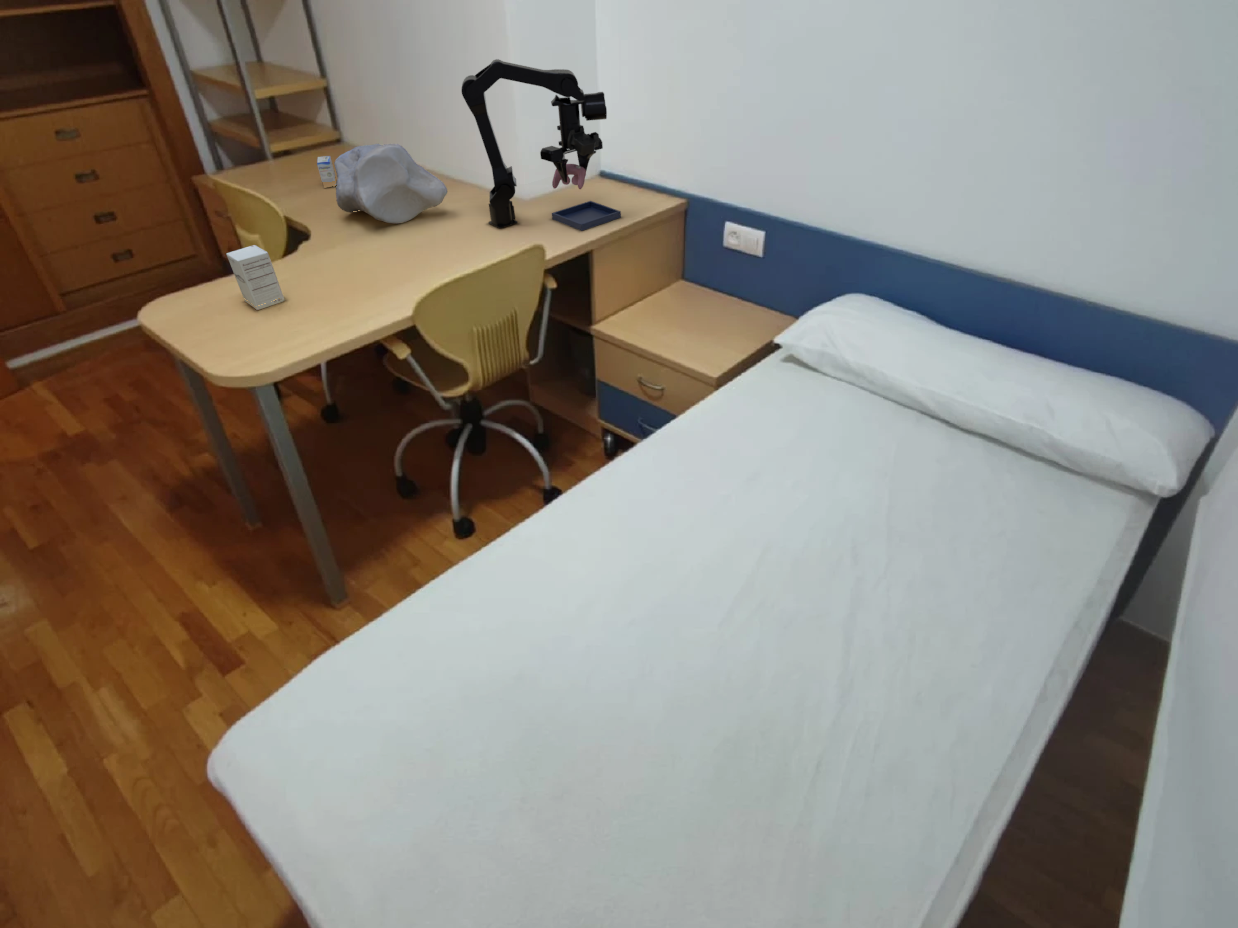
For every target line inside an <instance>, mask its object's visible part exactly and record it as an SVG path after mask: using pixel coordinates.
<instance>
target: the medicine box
mask: <svg viewBox="0 0 1238 928" xmlns="http://www.w3.org/2000/svg"><path fill="white" fill-rule="evenodd" d="M333 164H334V163H333V161H332V157H331V155H322V156H317V159H316V165H317V169H318V173H319V176H320V180H321V183H322V182H332V181H335V176H336V171H335V167H334V165H333ZM335 185H337V183H336V184H335Z"/></svg>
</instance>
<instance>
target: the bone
mask: <svg viewBox="0 0 1238 928" xmlns="http://www.w3.org/2000/svg"><path fill="white" fill-rule="evenodd" d="M333 164H334V165H333V166H334V170H335V174H336V180H337V181H336V185H337V186H336V187H335V198H336V200H335V201H336V204H337V207H338V208H339V209H341V211H344V212H346V213H358V212H364V213H366V214H368V215H369V216H371V217H372V218H374V219H375V221H381V222H384V223H386V224H397V225H398V224H402V223H406V222H409V221H411V220H413V219H414V218H415V217H417V216H418V215H419V214H420V213H422V212H424V211H425V210H428V209H431V208H435V207H438V206H439V205H441V204H442V203H443V202H444V199H445V197H446V196H447V194H448V188H447V186H446V184H445V183H444V181H442V180H441V179H439V177H437V176H436V175H434V174H433V173H431V172H430V171H428V170H427V169H425V167H423V166H422V165H420V164H418V163H417V162H416V161H415V160H414V158H413V157H412V156H411V154H410V153H409V151H408V150H407V149H406V148H405V147H403V146H402V145H401V144H399V143H384V144H380V143H374V144H365V145H358V146H355V147H353V148H352V149H350V150H348V151H345V152H344V153H341V154H340V155H339V156H338V157H337V158H336V159H335V160H334V162H333ZM358 210H360V211H358ZM353 211H357V212H353Z"/></svg>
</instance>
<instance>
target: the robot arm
mask: <svg viewBox="0 0 1238 928" xmlns="http://www.w3.org/2000/svg"><path fill="white" fill-rule="evenodd" d="M500 79H501V80H502V79H503V80H507V81H511V82H516V83H517V82H518V83H522V84H526V85H531V86H536V87H537V86H538V87H541V88H544V89H547V90H549V91H550V92H552V93H555V96H554V98H553V99H551V101H550V104H551V106H552V107H557V109H558V119H559V121H558V122H559V125H557V126H556V129H557V131H559V132H560V140H559V141H558V146H554V145H549V146H546V147H542V148H541V149H540V151H539V154H540V160H542V161H543V160H544V161H547V162H551V163H553V165H554V167H555V168H556V169H557V170H558V172H559V174H560V176H561V178H562V179H563V181H564V182H565V183H567V170H566V164H568V161H569V159H568V158H566V154H571V153H574V152H576V155H577V156H576V157H577V160H578V165H579V166H581V167H583V168H584V169H585V170H586V172H588V166H589V163H590V159H591V158H592V157H593V155H594V154H596V153H597V151H598V150H603V148H604V145H603V140H602V139H601V137H600V134H599V133H598V132H597V131H594V132H591V133H586V132H585V127H584V125H582V124H581V117H582V118H584V119H585V121H598V120H599V121H600V120H607V118H608V117H607V116H608V115H607V114H608V111H607V106H606V99H605V92H604V91H598V92H593V93H591V92H590V93H585V92H584V90H583V88H580V86H579V82H578V79H577V77H576V75H575V74H574V72H573V71H572V70H569V69H564V68H563V69H561V68H560V69H557V68H555V69H542V68H537V67H531V66H527V65H523V64H516V63H513V62H508V61H503V60H501V59H499V58H496V59H493V60H492V61H491V62H490V63H489V64H488V65H487V66H485V67H484V68H483V69H481V70H480V71H478V72H477V73H475V74H474V75H473V74H472V75H467V76H466V77H465V78H464V79H463V80H462V84H461V95H462V98H463V99H464V101H465V103H466V105H467V107H468V109H469V110H470V112H471V114H472V115H473V117H474V119H475V123H476V125H477V128H478V132H479V134H480V137H481V139H482V143H483V146H484V148H485V152H486V154H487V158H488V162H489V164H490V167H491V172H492V179H493V185H494V186H493V187H492V188H491V189H490V191H489V199H488V200H489V203H488V210H489V216H490V221H488V224H489V225H491V226H493V227H495V228H498V229H503V228H506V227H511V226H513V225H517V224H518V220H516V212H515V206H514V205H513V201H512V198H514V196H515V194H516V187H518V185H517V178H516V177H515V175H514V171H513V166H511V165H510V166H509V167H507V165H506V163H505V161H504V157H503V155H502V152H501V149H500V146H499V143H498V139H497V137H496V133H495V131H494V126H493V124H492V121H491V119H490V116H489V112H488V106H487V99H486V93H485V92H487V91H488V90H489V89H490V88H491V87H493V85H494V84H495V83H496V82H498V81H499V80H500ZM560 96H562V97H560ZM571 98H573V99H571ZM580 113H581V115H580ZM580 116H581V117H580Z"/></svg>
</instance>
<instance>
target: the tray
mask: <svg viewBox="0 0 1238 928" xmlns="http://www.w3.org/2000/svg"><path fill="white" fill-rule="evenodd" d="M621 218H622V213H621V210H618V209H616V208H613V207H610V206H606V205H604V204H601V203H598V202H595V201H593V200H589V201H585V202H583V203H579V204H576V205H573V206H569V207H566V208H564V209H563V208H562V209H560V210H557V211H554V212H551V220H552V221H555V222H558V223H560V224H563V225H565V226H568V227H569V228H570V227H571V228H572V229H575V230H577V231H581V232H582V231H585V230H586V231H587V230H589V229H591V228H594V227H598V226H600V225H601V226H602V225H603V224H607V223H609V222H612V221H615V220H619V219H621Z"/></svg>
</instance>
